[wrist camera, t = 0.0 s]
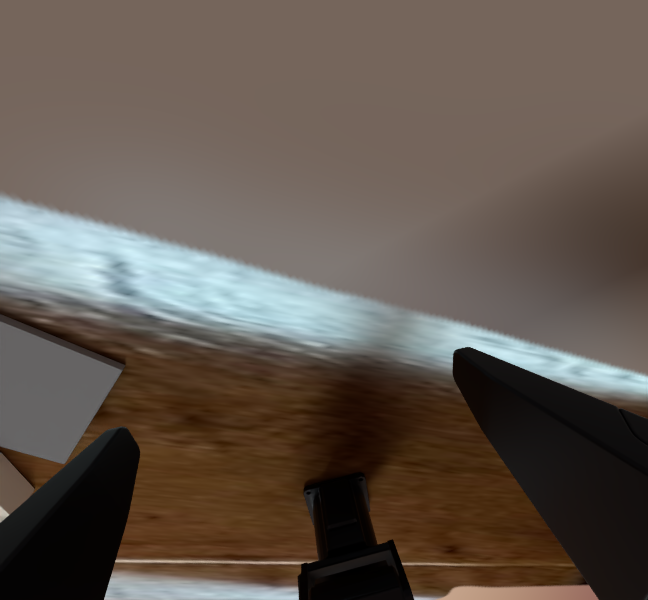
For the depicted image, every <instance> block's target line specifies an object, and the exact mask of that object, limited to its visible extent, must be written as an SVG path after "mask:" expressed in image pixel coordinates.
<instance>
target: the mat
mask: <svg viewBox="0 0 648 600" xmlns="http://www.w3.org/2000/svg"><path fill="white" fill-rule="evenodd" d="M124 367H125V365H124V364H121V363H119V362H116V361H114V360H111V359H109V358H106V357H104V356H102V355H99V354H97V353H94V352H92V351H89V350H87V349H84V348H82V347H80V346H77V345H75V344H72V343H70V342H67V341H65V340H62V339H60V338H58V337H55V336H53V335H50V334H48V333H45V332H43V331H40V330H38V329H36V328H33V327H31V326H28V325H26V324H23V323H21V322H18V321H16V320H14V319H11V318H9V317H6V316H4V315H1V314H0V447H4V448H8V449H11V450H15V451H18V452H22V453H26V454H29V455H33V456H37V457H40V458H44V459H47V460H51V461H55V462H58V463H62V464H65V462H66V461H67V459H68V458H69V456H70V454H71V453H72V451H73V449H74V448H75V446H76V445H77V443H78V441H79V440H80V438H81V437H82V435H83V433H84V432H85V430H86V428H87V427H88V425H89V424H90V422H91V420H92V419H93V417H94V416H95V414H96V412H97V411H98V409H99V407H100V406H101V404H102V403H103V401H104V399H105V398H106V396H107V395H108V393H109V391H110V390H111V388H112V386H113V385H114V383H115V382H116V380H117V378H118V377H119V375H120V374H121V372H122V370H123V369H124Z"/></svg>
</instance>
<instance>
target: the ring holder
mask: <svg viewBox="0 0 648 600" xmlns="http://www.w3.org/2000/svg"><path fill="white" fill-rule="evenodd" d="M34 490H35V489H34V488H33V487H32V486H31V484H30V483H29V482H28V481H27V480H26V479H25V478H24V477H23V476H22V475H21V474H20V472H19V471H18V470H17V469H16V468H15V467H14V466H13V465H12V464H11V463H10V462H9V461H8V459H7V458H6V457H5V456H4V455H3V454H2V453H1V452H0V523H1V522H2V521H3V520H4V519H5V518H6V517H7V516H9V515H10V514H11V513H12V512H13V511H14V510H15V509H17V508H18V507H19V506H20V505H21V504H22V503H24V502H25V501H26V500H27V499H28V498H29V497H30V496H31V494H32V493H33V491H34Z"/></svg>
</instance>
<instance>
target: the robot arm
mask: <svg viewBox="0 0 648 600" xmlns="http://www.w3.org/2000/svg"><path fill="white" fill-rule="evenodd" d="M453 377H454V380H455V382H456V384H457V386H458V388H459V390H460V391H461V393H462V395H463V397H464V399H465V400H466V402H467V404H468V406H469V408H470V410H471V411H472V413H473V415H474V417H475V419H476V421H477V422H478V424H479V426H480V428H481V429H482V431H483V432H484V434H485V435H486V437H487V438H488V440H489V441H490V443H491V444H492V446H493V447H494V448H495V450H496V451H497V453H498V454H499V456H500V457H501V459H502V460H503V461H504V463H505V464H506V466H507V467H508V469H509V470H510V472H511V473H512V474H513V476H514V477H515V479H516V480H517V482H518V483H519V485H520V486H521V488H522V489H523V490H524V492H525V493H526V495H527V496H528V498H529V499H530V501H531V502H532V503H533V505H534V506H535V508H536V509H537V511H538V512H539V514H540V515H541V516H542V518H543V519H544V521H545V522H546V524H547V525H548V527H549V528H550V529H551V531H552V532H553V534H554V535H555V537H556V538H557V540H558V541H559V542H560V544H561V545H562V547H563V548H564V550H565V551H566V553H567V554H568V556H569V557H570V558H571V560H572V561H573V563H574V564H575V566H576V567H577V569H578V570H579V571H580V573H581V574H582V576H583V577H584V579H585V580H586V582H587V583H588V584H589V586H590V587H591V589H592V590H593V592H594V593H595V595H596V596H597V597H598V599H599V600H648V419H646V418H644V417H641V416H639V415H636V414H634V413H631V412H629V411H626V410H624V409H618V408H617V407H616V406H614V405H611V404H609V403H606V402H604V401H602V400H599V399H597V398H594V397H592V396H589V395H587V394H584V393H582V392H579V391H577V390H574V389H572V388H569V387H567V386H565V385H562V384H560V383H557V382H555V381H552V380H550V379H547V378H545V377H542V376H540V375H537V374H535V373H532V372H530V371H528V370H525V369H523V368H520V367H518V366H515V365H513V364H510V363H508V362H505V361H503V360H500V359H498V358H495V357H493V356H491V355H488V354H486V353H483V352H481V351H478V350H476V349H473V348H471V347H465V348H461V349H457V350H455V351H454V354H453ZM139 458H140V449H139V446H138V445H137V443H136V441H135V440H134V438H133V436H132V435H131V433H130V432H129V430H128V429H127V428H126V427H117V428H113V429H109V430H107V431H105V432H104V433H103V434H102V435H101V436H99V437H98V438H97V439H96V440H95V441H94V442H93V443H91V444H90V445H89V446H88V447H87V448H86V449H84V450H83V451H82V452H81V453H80V454H79V455H78V456H76V457H75V458H74V459H73V460H72V461H71V462H70V463H68V464H67V465H66V466H65V467H64V468H63V469H61V470H60V471H59V472H58V473H57V474H56V475H55V476H53V477H52V478H51V479H50V480H49V481H48V482H47V483H45V484H44V485H43V486H42V487H41V488H40V489H38V490H37V491H36V492H35V493H34V494H33V495H32V496H30V497H29V498H28V499H27V500H26V501H25V502H24V503H22V504H21V505H20V506H19V507H18V508H17V509H15V510H14V511H13V512H12V513H11V514H10V515H9V516H7V517H6V518H5V519H4V520H3V521H2V522H1V523H0V600H104V597H105V594H106V591H107V587H108V584H109V580H110V577H111V574H112V570H113V567H114V563H115V560H116V557H117V553H118V550H119V547H120V543H121V540H122V536H123V533H124V530H125V526H126V522H127V519H128V514H129V510H130V505H131V500H132V495H133V490H134V484H135V479H136V474H137V469H138V464H139ZM304 496H305V500H306V503H307V506H308V510H309V513H310V516H311V519H312V523H313V525H314V528H315V536H316V545H317V553H318V561H315V562H312V563H303V564H301V574H300V575H299V576H298V588H299V600H414V598H413V594H412V591H411V588H410V585H409V582H408V580H407V577H406V574H405V571H404V569H403V566H402V563H401V560H400V558H399V555H398V552H397V549H396V546H395V544H394V541H393V539H392V540H389V541H387V542H386V543H382V544H377V541H376V537H375V533H374V530H373V526H372V522H371V519H370V515H369V511H370V506H369V499H368V492H367V486H366V479H365V476H364V474H363V473H358V474H354V475H350V476H347V477H343V478H339V479H335V480H331V481H327V482H323V483H319V484H315V485H311V486H307V487H305V488H304Z"/></svg>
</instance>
